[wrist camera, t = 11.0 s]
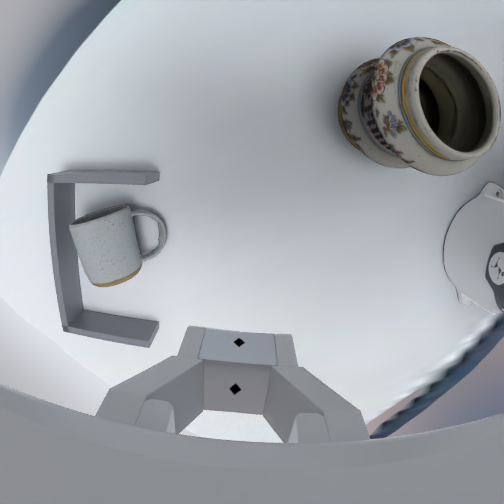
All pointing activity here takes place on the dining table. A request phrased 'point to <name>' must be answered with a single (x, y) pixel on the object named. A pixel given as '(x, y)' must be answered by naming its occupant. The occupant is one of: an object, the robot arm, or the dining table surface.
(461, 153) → the apothecary jar
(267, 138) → the dining table surface
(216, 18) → the dining table surface
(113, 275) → the ceramic mug
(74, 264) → the box
